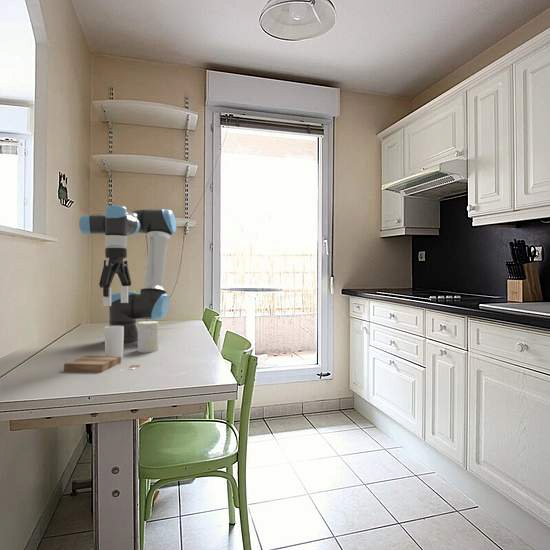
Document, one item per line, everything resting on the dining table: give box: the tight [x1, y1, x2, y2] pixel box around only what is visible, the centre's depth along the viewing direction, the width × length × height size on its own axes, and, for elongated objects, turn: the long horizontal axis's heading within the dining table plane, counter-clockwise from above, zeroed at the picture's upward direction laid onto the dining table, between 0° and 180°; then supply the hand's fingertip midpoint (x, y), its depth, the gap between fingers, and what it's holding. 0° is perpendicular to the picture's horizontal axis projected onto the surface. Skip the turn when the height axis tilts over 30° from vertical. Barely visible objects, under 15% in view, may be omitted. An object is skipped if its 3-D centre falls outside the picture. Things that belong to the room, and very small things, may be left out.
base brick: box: [63, 355, 122, 373], centre depth 141 cm, size 13×13×3 cm
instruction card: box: [119, 364, 141, 372], centre depth 140 cm, size 10×7×1 cm
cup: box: [137, 320, 160, 353], centre depth 170 cm, size 8×8×12 cm
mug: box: [104, 325, 124, 359], centre depth 157 cm, size 10×7×12 cm, turn 20°
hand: (116, 304), depth 155 cm, fingers open, 13 cm apart
